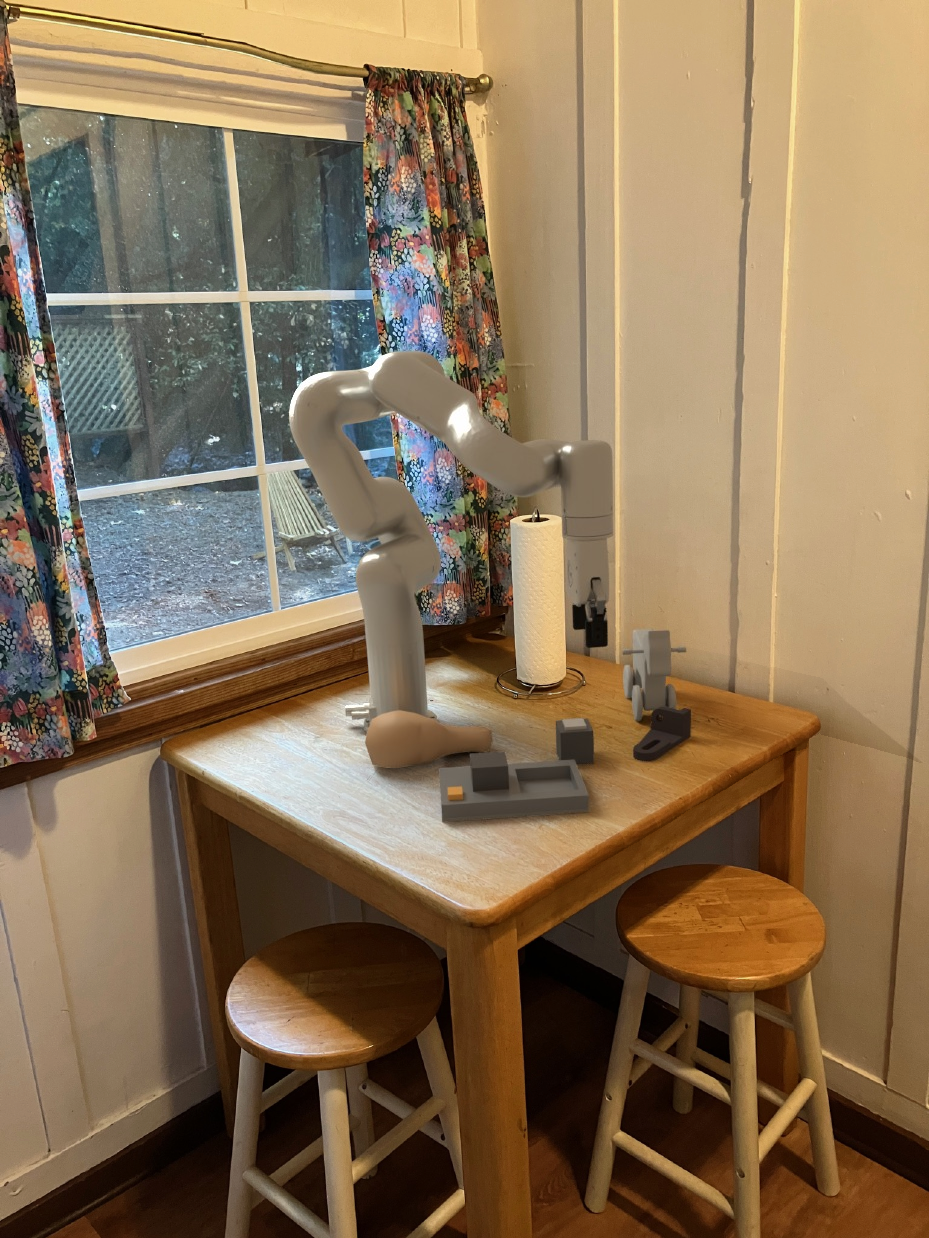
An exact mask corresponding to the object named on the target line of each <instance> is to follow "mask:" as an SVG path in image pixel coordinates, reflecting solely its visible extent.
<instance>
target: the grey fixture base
mask: <svg viewBox="0 0 929 1238" xmlns="http://www.w3.org/2000/svg"><path fill="white" fill-rule="evenodd" d="M469 764H470V765H468V766H467V765H466V766H454V767H441V768H440V767H439V768H438V774H439V775H438V776H439V777H438V778H439V788H440V789H439V791H440V792H439V794H440V806H441V808H440V809H441V821H442V823H447V822H450V823H451V822H461V821H463V822H464V821H475V820H476V821H477V820H491V819H493V820H494V819H508V818H521V817H537V816H551V815H565V814H566V815H567V814H580V813H590V795H589V792H588V790H587V788H586V784H585V782H584V779H583V777H582V774H581V773H580V772H581V771H580V770H579V768H578V765H577V764H576V762H575V759H573V760H559V759H558V760H546V761H532V762H531V761H530V762H516V763H515V762H513V763H508V758H507V755H506V751H491V752H489V751H488V752H485V753H478V752H475V753H474V752H473V753H469Z"/></svg>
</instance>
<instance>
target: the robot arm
mask: <svg viewBox="0 0 929 1238" xmlns="http://www.w3.org/2000/svg"><path fill="white" fill-rule="evenodd" d="M445 374H446V373H445V371H444V368H443V366H442V364H441V363H440V361H438V360H437V358H436V357H435V356H433V355H432V354H430V353H428V352H426V351H425V352H424V351H421V350H406V351H405V350H403V351H402V350H401V351H400V350H397V351H392V352H388V353H386V354H383V355H382V356H380V357H379V358H378V359H376V360H375V362H374V363H373V365H370V366H368V367H363V368H360V369H352V370H349V369H348V370H333V371H332V370H331V371H325V372H320V373H317V374H314V375H312V376H309V377H308V378H307V379H305V380H303V382H302V383H301V384H300V385H299V386H298V387H297V389H296V390H295V392H294V394H293V397H292V399H291V401H290V406H289V412H288V413H289V417H288V419H289V428H290V432H291V436H292V437H293V441H294V442H295V445H296V447H297V448H298V451H299V452H300V454H301V456H302V457H303V459H304V461H305V462H306V465H307V466H308V468H309V470H310V471H311V474H312V475H313V478H314V479H315V482H316V484H317V486H318V488H319V490H320V492H321V494H322V497H323V499H324V501H325V503H326V504H327V508H329V511H330V513H331V516H332V517H333V519H334V521H335V523H336V524H337V525H336V526H337V527H338V528H339V530H340V532H341V533H342V535H344V537H345V538H347V539H348V540H350V541H353V542H357V543H358V542H359V543H361V542H368V541H371V540H373V539H376V538H378V540H379V542H380V544H379V545H376V546H374V547H373V548H371V549H370V550H368V551H367V552H366V553H364V555H363V556H362V557H361V558H360V560H359V562H358V564H357V567H356V572H355V583H356V584H355V585H356V589H357V593H358V596H359V600H360V604H361V608H362V614H363V621H364V622H363V623H364V632H365V643H366V654H367V655H366V656H367V665H368V680H369V692H370V693H369V694H370V697H369V701H368V702H363V704H349V705H348V704H347V705H345V706H344V708H345V710H344V711H345V717H351V720H352V721H353V720H354V721H355V720H363V729H364V731H365V732H366V733H367V731H368V729H369V726H370V723H371V721H372V719H373V718H375V717H377V716H379V715H381V714H384V713H388V712H392V711H399V710H401V711H407V712H412V713H417V714H419V715H422V716H425V717H427V718H433V719H435V720H436V721H438V715H437V714H436V713H435V712H434V711H432V710H430V709H429V706H428V692H427V691H428V689H427V678H426V677H427V673H426V661H425V660H426V659H425V658H426V657H425V644H424V643H425V642H424V630H423V622H422V621H423V620H422V616H421V612H420V609H419V606H418V603H417V601H416V597H415V594H416V593H417V592H418V591H421V590H422V589H424V588H425V587H427V586H429V585H431V584H432V583H433V582H434V581H435V580H436V579H437V578H438V576H439V573H440V571H441V567H442V560H441V555H440V554H441V553H440V551H439V547H438V545H437V543H436V541H435V538H434V536H433V534H432V532H431V530H430V528H429V526H428V524H427V522H426V519H425V517H424V516H423V514H422V511H421V509H420V507H419V505H418V503H417V501H416V500H415V498H414V496H413V494H412V493H411V491H410V490H409V489H408V488H407V487H406V485H405V484H403V483H402V482H401V481H399V480H397V479H396V478H393V477H389V476H377V477H374V476H373V475H372V473H371V472H370V470H369V468H368V466H367V464H366V462H365V459H364V457H363V455H362V453H361V452H360V450H359V449H358V447H357V446H356V444H355V443H354V442H353V441H352V440H351V439H350V438H349V437H348V436H347V434H346V433H345V432H344V430H343V427H344V426H345V425H353V424H358V423H364V422H365V423H366V422H370V421H374V420H377V419H381V418H384V417H387V416H393V415H396V414H398V415H400V416H401V417H403V418H405V419H406V420H408V421H409V422H411V423H413V424H415V425H416V426H418V427H419V428H421V429H423V430H424V431H426V432H427V433H428V434H430V435H432V436H433V437H435V438H436V439H438V440H439V441H441V442H442V443H444V445H446V447H447V449H448V450H449V452H450V453H451V454H452V455H453V456H454V457H455V458H456V459H457V460H458V461H459V462H460V464H462V465H463V466H464V467H465V468H466V469H467V470H468V471H470V472H471V473H473V474H474V475H475V476H477V477H479V478H480V479H481V480H484V481H485V482H487V483H489V485H491V486H493V487H494V488H496V489H497V490H500V491H501V492H503V493H505V494H508V495H509V496H513V497H517V498H529V497H532V496H535V495H537V494H539V493H541V492H545V491H548V490H551V489H554V488H559V487H560V503H561V504H560V505H561V508H560V509H561V533H562V534H561V535H562V538H563V539H566V544H565V545H566V549H565V593H566V595H567V598H569V599H570V600H571V602H572V605H571V609H572V611H571V612H572V629H574V630H575V631H581V630H582V631H583V630H585V631H584V632H585V633H584V634H585V647H587V649H593V648H594V649H595V648H596V649H597V648H606V647H607V646H609V645H608V644H609V632H608V630H609V629H608V628H609V627H608V623H609V622H608V613H607V607H606V605H607V604H608V602H609V601H610V600H609V599H610V572H609V570H610V567H609V550H608V539H609V538H612V537H613V536H614V483H613V481H614V480H613V479H614V477H613V473H614V472H613V468H614V467H613V451H612V450H613V449H612V447H611V445H610V443H608V442H607V441H605V440H598V439H597V440H596V439H593V440H589V439H587V440H586V439H585V440H573V441H566V440H565V441H564V440H557V439H549V438H540V439H534V440H531V441H530V440H529V441H526V442H520V441H518V440H517V439H515V438H514V437H511V436H509V435H508V434H506V433H505V432H503V431H501V429H498V428H497V427H495V425H493V424H491V423H490V422H489V421H488V420H486V418H485V416H483V414H482V413H481V411H480V409H479V403H478V398H477V397H476V395H475V394H474V393H473V392H472V391H470V390H468V389H467V388H465V387H463V386H461V385H460V384H458V383H457V382H455V381H453V380H452V379H451V378H449V377H448V376H446V375H445Z"/></svg>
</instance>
